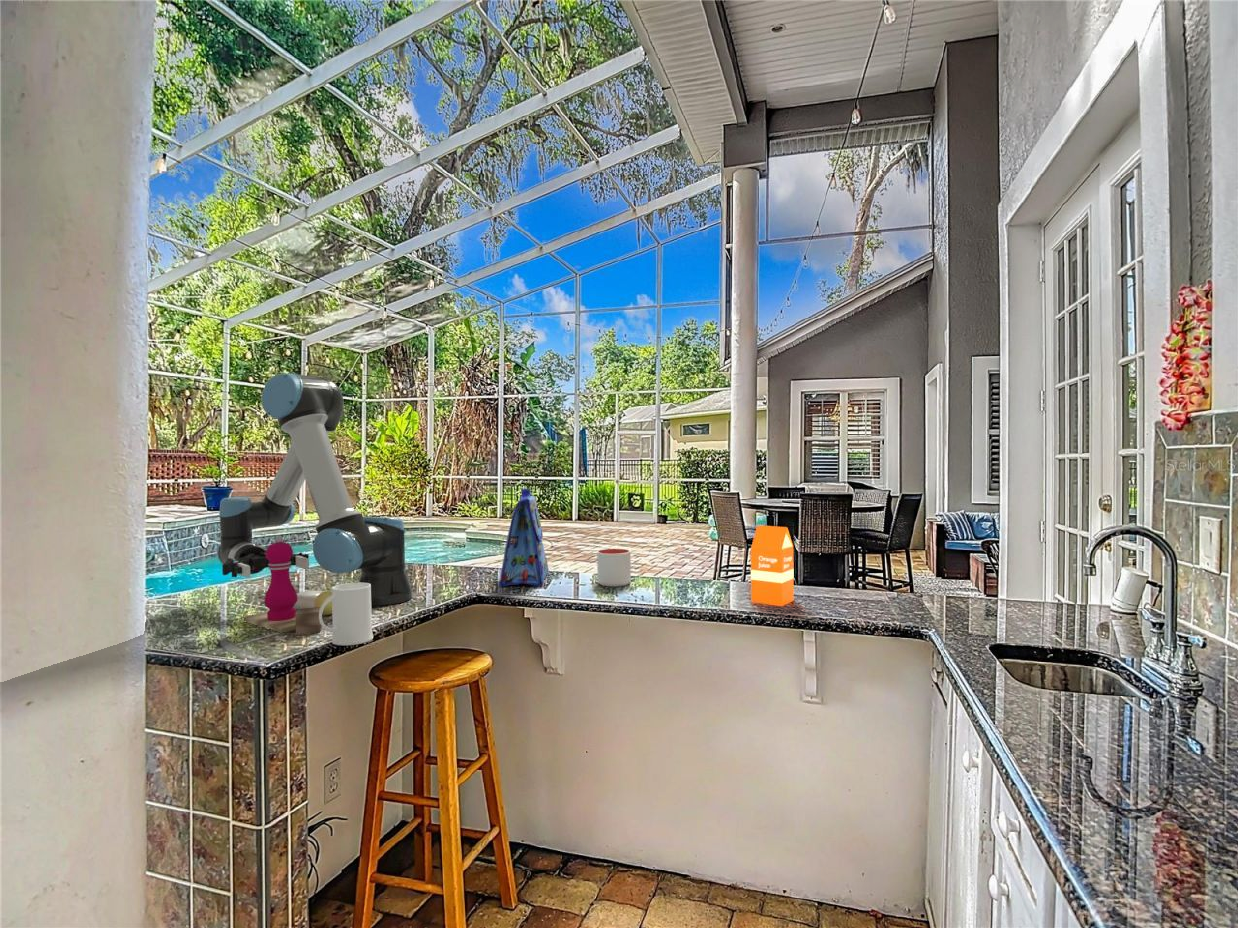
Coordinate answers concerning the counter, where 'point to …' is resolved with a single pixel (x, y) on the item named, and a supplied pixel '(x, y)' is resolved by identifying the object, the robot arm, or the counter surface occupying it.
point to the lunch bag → (524, 546)
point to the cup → (614, 567)
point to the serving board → (271, 622)
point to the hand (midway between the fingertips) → (278, 567)
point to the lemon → (320, 601)
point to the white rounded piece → (306, 599)
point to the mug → (350, 614)
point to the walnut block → (307, 621)
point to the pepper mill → (280, 582)
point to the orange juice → (772, 566)
